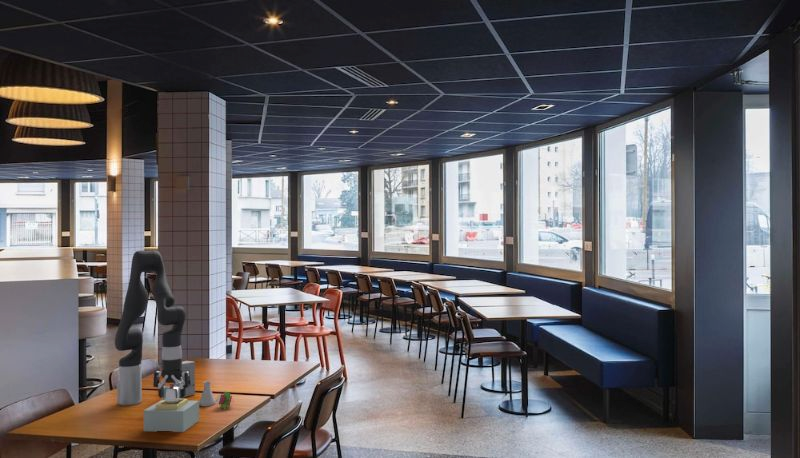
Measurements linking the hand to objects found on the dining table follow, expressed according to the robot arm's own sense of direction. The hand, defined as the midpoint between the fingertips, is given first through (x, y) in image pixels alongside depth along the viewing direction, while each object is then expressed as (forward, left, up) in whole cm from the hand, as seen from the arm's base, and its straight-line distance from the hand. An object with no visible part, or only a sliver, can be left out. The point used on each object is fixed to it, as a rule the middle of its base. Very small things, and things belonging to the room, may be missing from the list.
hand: (172, 397), depth 231 cm
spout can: (0, 0, -5) cm, 5 cm away
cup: (-10, +20, -11) cm, 25 cm away
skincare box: (-15, +42, -11) cm, 46 cm away
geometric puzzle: (+12, +25, -11) cm, 30 cm away
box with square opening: (0, 0, -11) cm, 11 cm away
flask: (+2, +29, -11) cm, 31 cm away
